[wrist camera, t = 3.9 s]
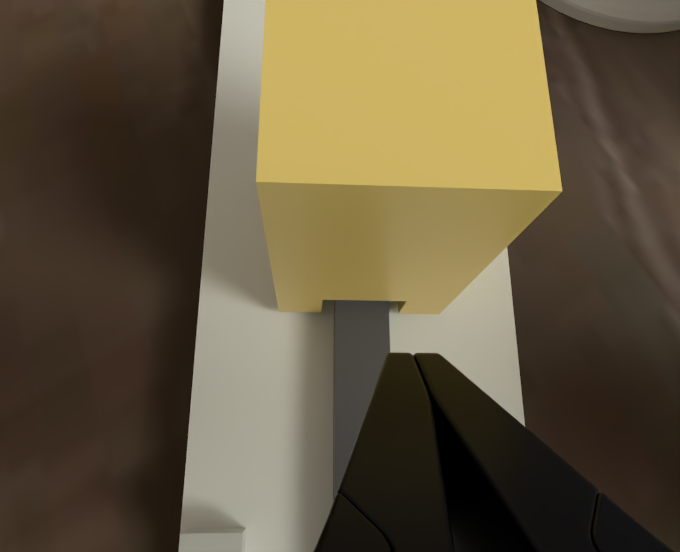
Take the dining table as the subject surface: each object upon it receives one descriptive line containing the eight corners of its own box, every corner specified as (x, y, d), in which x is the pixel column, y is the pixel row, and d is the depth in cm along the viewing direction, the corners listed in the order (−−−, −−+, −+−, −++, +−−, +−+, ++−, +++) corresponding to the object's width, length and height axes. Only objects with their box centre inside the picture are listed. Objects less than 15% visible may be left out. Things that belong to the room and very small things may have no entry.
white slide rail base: (538, 733, 15) (689, 913, 9) (171, 744, 14) (81, 945, 9) (463, -81, 24) (515, -251, 18) (237, -95, 24) (215, -276, 18)
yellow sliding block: (440, 314, 17) (565, 191, 9) (276, 311, 17) (252, 181, 9) (432, 171, 19) (532, -45, 10) (282, 167, 18) (266, -59, 10)
